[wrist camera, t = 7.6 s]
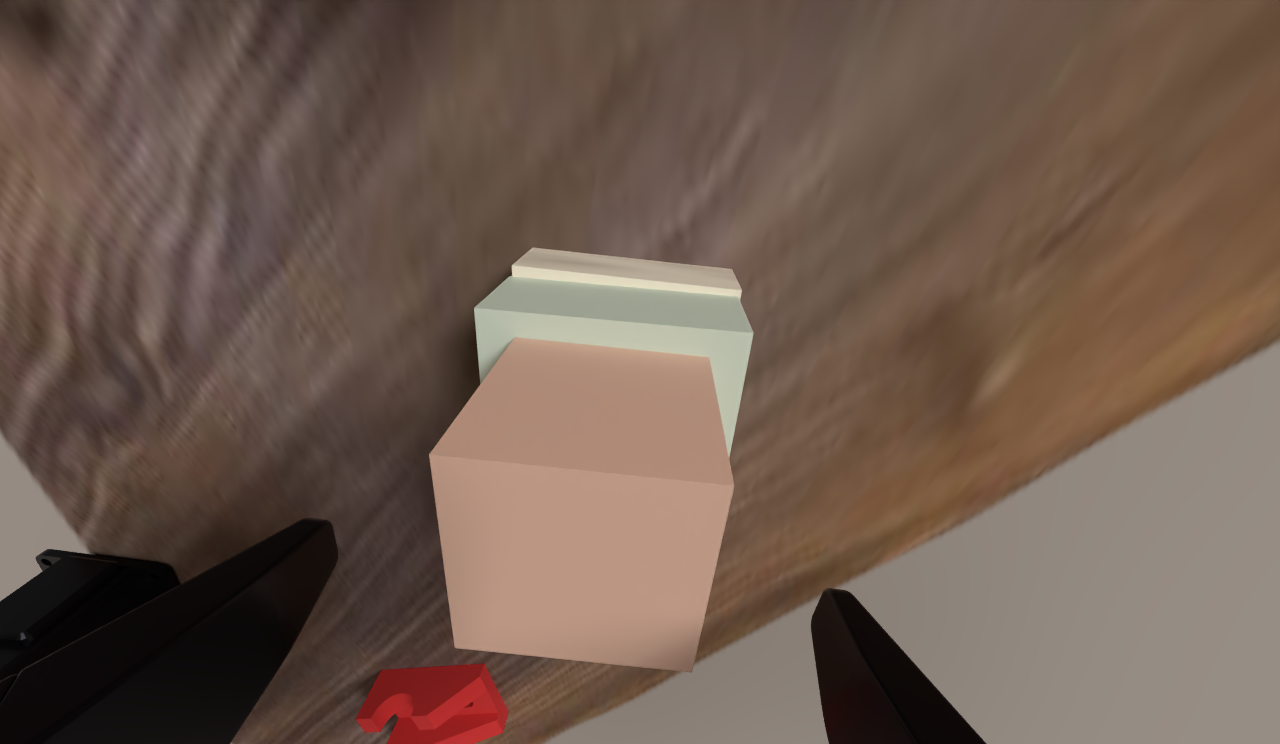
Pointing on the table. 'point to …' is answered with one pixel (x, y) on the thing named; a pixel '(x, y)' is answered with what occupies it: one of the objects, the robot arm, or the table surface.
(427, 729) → the bracket
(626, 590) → the tan block
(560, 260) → the block
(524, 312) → the tower top
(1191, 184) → the table surface
